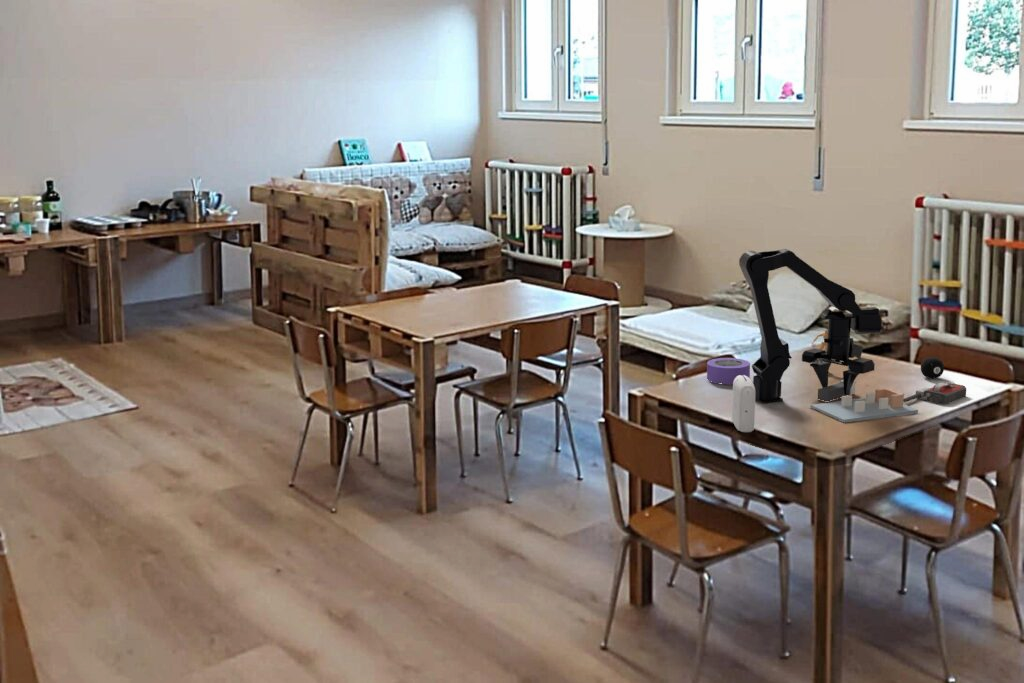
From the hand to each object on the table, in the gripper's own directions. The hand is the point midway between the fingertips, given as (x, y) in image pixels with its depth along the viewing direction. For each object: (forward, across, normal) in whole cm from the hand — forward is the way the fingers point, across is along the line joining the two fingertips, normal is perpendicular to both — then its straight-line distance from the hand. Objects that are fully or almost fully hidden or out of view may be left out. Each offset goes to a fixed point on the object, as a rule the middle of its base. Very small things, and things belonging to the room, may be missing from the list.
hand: (835, 392), depth 298 cm
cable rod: (+1, 0, 0) cm, 1 cm away
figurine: (+1, +18, -20) cm, 27 cm away
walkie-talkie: (+2, -19, -17) cm, 25 cm away
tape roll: (+2, +31, +6) cm, 31 cm away
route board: (+1, -12, +5) cm, 13 cm away
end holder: (+1, -14, -2) cm, 15 cm away
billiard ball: (+2, -7, -36) cm, 37 cm away
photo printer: (+2, 0, +38) cm, 38 cm away
